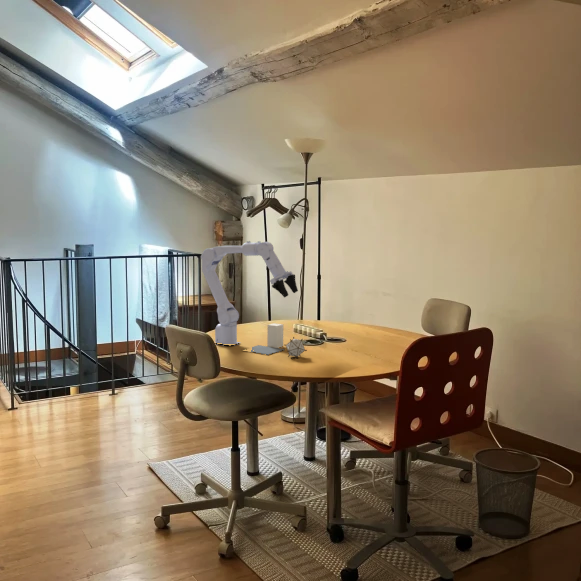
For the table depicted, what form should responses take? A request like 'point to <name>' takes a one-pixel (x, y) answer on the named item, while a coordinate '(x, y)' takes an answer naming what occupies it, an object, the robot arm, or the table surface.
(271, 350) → the slate mat
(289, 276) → the robot arm
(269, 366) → the table surface
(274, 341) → the tall block
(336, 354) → the table surface
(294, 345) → the game die
